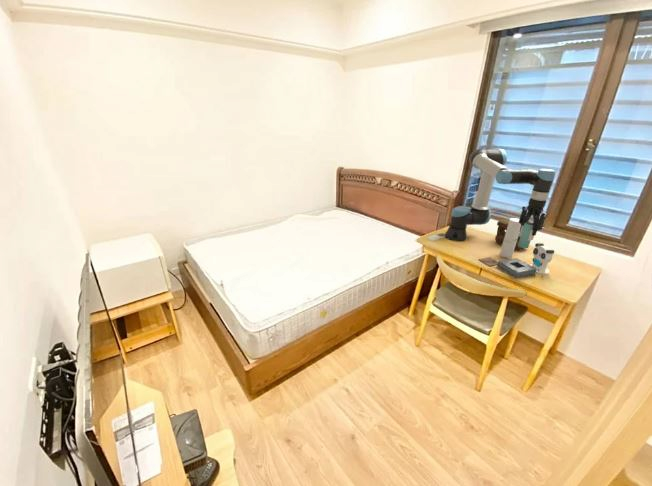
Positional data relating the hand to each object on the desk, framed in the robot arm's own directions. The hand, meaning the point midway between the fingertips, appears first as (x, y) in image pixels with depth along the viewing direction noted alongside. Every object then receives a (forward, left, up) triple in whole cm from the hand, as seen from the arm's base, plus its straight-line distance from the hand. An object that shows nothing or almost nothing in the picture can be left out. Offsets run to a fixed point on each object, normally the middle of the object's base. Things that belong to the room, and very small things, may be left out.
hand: (525, 238), depth 168 cm
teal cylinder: (0, 0, -5) cm, 5 cm away
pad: (-13, -7, -21) cm, 26 cm away
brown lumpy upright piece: (-29, +25, -22) cm, 44 cm away
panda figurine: (+2, +15, -22) cm, 27 cm away
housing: (0, 0, -21) cm, 21 cm away
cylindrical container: (-18, +11, -22) cm, 30 cm away
